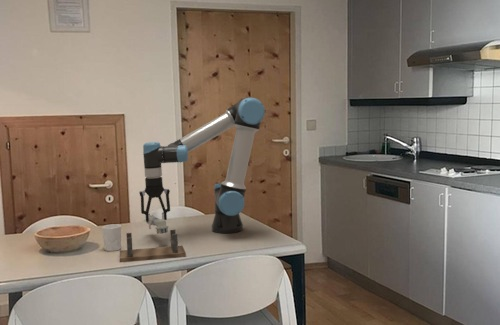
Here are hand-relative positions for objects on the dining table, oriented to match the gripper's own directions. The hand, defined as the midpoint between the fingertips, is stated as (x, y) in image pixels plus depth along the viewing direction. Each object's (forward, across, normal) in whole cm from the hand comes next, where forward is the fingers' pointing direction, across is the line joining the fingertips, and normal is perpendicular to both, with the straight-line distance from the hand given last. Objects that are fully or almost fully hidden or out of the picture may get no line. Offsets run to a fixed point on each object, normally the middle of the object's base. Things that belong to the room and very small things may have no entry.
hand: (156, 227), depth 248 cm
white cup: (+6, +20, +8) cm, 22 cm away
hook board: (+6, +4, +23) cm, 24 cm away
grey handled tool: (+1, 0, 0) cm, 1 cm away
